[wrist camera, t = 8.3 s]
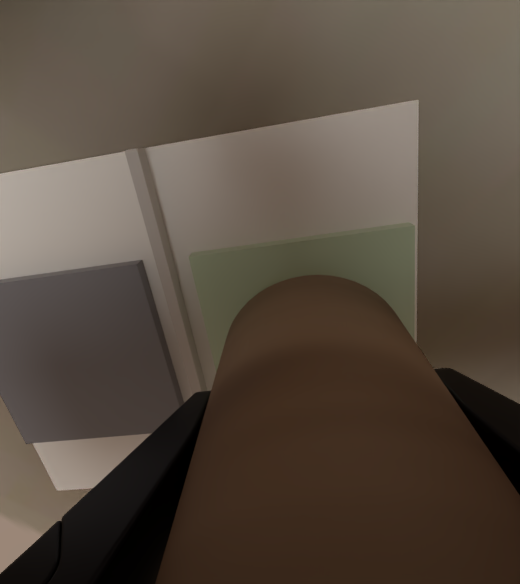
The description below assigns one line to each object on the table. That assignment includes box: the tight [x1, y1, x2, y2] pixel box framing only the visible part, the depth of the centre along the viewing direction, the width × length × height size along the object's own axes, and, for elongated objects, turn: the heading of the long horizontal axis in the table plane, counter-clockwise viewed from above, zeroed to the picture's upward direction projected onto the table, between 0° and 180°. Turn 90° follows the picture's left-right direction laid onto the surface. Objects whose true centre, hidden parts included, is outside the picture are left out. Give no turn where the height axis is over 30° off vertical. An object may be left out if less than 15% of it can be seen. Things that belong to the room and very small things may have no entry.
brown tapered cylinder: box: [155, 275, 520, 584], centre depth 6 cm, size 4×4×6 cm
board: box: [0, 100, 419, 491], centre depth 11 cm, size 13×11×1 cm
